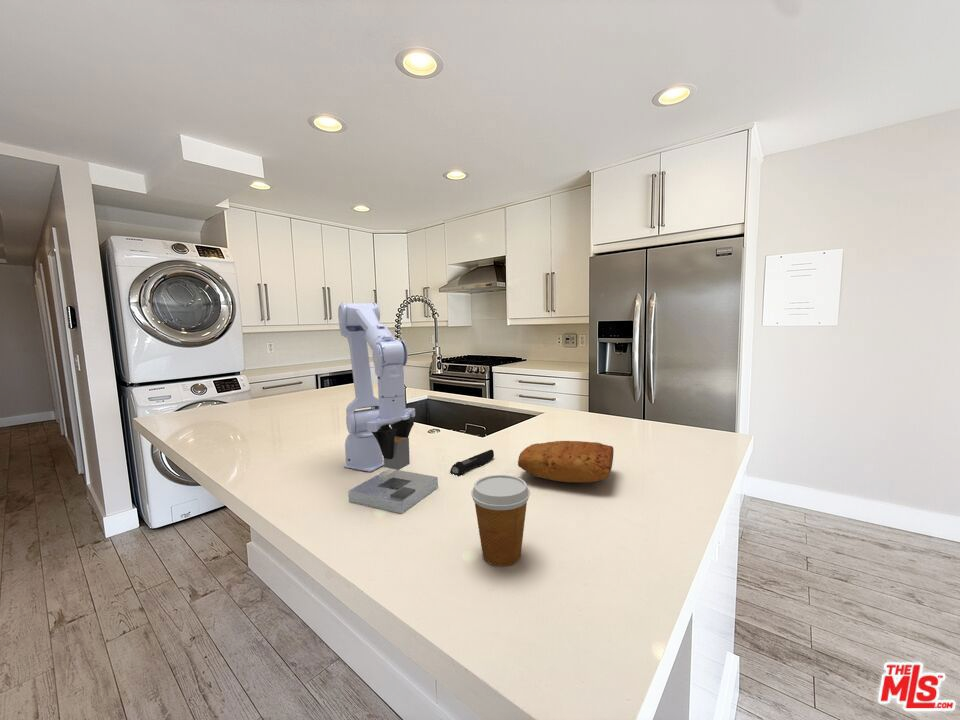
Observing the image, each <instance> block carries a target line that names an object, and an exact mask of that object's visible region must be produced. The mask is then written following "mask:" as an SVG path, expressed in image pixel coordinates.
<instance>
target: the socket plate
mask: <svg viewBox="0 0 960 720" xmlns="http://www.w3.org/2000/svg"><path fill="white" fill-rule="evenodd" d="M437 487H438V488H439V477H438V476H434V475H429V474H424V473H418V472H417V473H416V472H412V471H405V470H402V469H400V470H396V469H391V468H386V469H385V470H384V471H382V472H380V473H378V474H376V475H375V476H373V477H371V478H369V479H367V480H366V481H364V482H362V483H359V484H358V485H356V486H355V487H353V488H351V489H349V490H348V502H349V503H353V504H357V505H361V506H366V507H370V508H375V509H380V510H384V511H388V512H392V513H396V514H401V515H402V514H404V513H405V512H406V511H408V510H409V509H410V508H412V507H413V506H414V505H416V504H418V503H419V502H420V501H421V500H423V499H424V498H426V497H427V496H429V495H430V494H431V493H432V492H433V491H435V490H437V489H438V488H437ZM429 493H430V494H429ZM418 501H419V502H418Z"/></svg>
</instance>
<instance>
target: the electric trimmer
mask: <svg viewBox="0 0 960 720" xmlns="http://www.w3.org/2000/svg"><path fill="white" fill-rule="evenodd" d="M494 457H495V453H494V450H493V449H489V450H486V451H483V452H481V453H478V454H477V455H476V454H475V455H473V456H471V457H469V458H466V459H464V460H461V461H456V462H455V463H454V464H453V465H452V466H451V468H450V469H449V473H451V474H450V475H453V474H454V475H453V476H456V475H457V477H459V476H460V475H462V476H463V474H464V473H465V472H467V471H469V470H472V469H473V468H474V469H475V468H476V467H482V466H483V465H485V464H487V463H488V462H489V461H491V460H493V459H494ZM460 477H461V476H460Z"/></svg>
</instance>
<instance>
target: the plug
mask: <svg viewBox="0 0 960 720" xmlns="http://www.w3.org/2000/svg"><path fill="white" fill-rule="evenodd" d="M383 459H384V465H383V467H384V468H386V469H389V468H391V469H396V470H402V469H404V468H405V467H407V466H408V465H410V463H411V461H410V438H409V437H408V438H405V437H397V436H395V439H394V452H393V458H392V459H385V458H383Z"/></svg>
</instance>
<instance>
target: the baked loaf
mask: <svg viewBox="0 0 960 720" xmlns="http://www.w3.org/2000/svg"><path fill="white" fill-rule="evenodd" d="M613 463H614V447H613V446H612V445H608V444H605V443H604V444H603V443H601V442H595V441H593V442H591V441H580V440H579V441H578V440H555V441H549V442H542V443H541V442H540V443H538V442H537V443H533V444H530V445H528V446H527V447H525V448H524V449H523V450H522V451H520V453H519V455H518V460H517V465H518V467H519V468H521V470H523V471H525V472H526V473H528V474H529V475H533V476H534V477H536V478H537V477H539V478H542V479H546V480H551V481H555V482H564V483H595V482H598V481H602V480H606V479H607V478H608V477H609V475H610V473H611V471H612V469H613Z"/></svg>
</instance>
